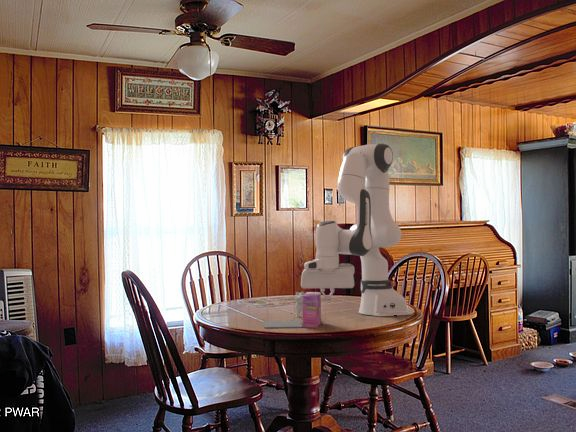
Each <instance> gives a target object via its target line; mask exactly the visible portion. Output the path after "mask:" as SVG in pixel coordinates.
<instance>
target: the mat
mask: <svg viewBox="0 0 576 432" xmlns="http://www.w3.org/2000/svg"><path fill="white" fill-rule="evenodd" d="M298 328H299V329H301V328H303V327H302V321H301V320H265V321H264V329H298Z"/></svg>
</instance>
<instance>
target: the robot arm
mask: <svg viewBox="0 0 576 432" xmlns="http://www.w3.org/2000/svg"><path fill="white" fill-rule="evenodd" d="M341 160H342V161H341V162H342V163H341V166H340V169H339V173H338V178H337V185H336V189H337V192H338V194H339V196H341V198H343V199H344V200H345V201H348V202H350V203H352V204H354V205H355V207H356V223H354V224H353V225H352V226H350V228H349V229H345V228H344V229H343V228H342V227H340V226H339V225H338V222H337V221H335V220H326V221H325V220H324V221H321V222H319V223H317V225H316V230H315V249H316V251H315V259H312V260H309V261H306V262H304V264H303V267H304V269H303V270H302V272H301V276H300V287H301V288H302V289H320V292H321V295H323V301H332V300H333V299H332V296H333V294H334V293H335V289H353V288H354V287H355V277H354V275H355V272H356V271H355V266H354V265H353V264H351V263H340V256H339V254H340V255H349V256H350V255H352V256H359V257H360V261H361V280H360V292H361V298H360V305H359V309H358V313H359V314H361V315H367V316H368V315H369V316H375V317H393V316H394V315H397V316H411V315H413V313H414V312H413V310H412V309H410V308H408V305H407V303H408V302H407V299H406V298H405V297H404V296H403V295H401V294H400V293H399V292H398V291H396V290H395V289H394V288H393V287H395V286H396V281H394V280H390V279H389V263H388V262H389V261H388V260H387V259H386V258H385V257H384V256H383V255H382V253H381V251H380V248H391V247H394V246H397V245H398V244H399V243H400V241H401V239H402V230H401V227H400V226H399V225H398V224H397V223H396V222H395V219H393V217H392V214H391V211H390V177H389V169H390V167H391V165H392V163H393V161H394V153H393V149H392V148H391V146H390V145H388V144H385V143H376V144H375V143H373V144H370V143H368V144H365V145H364V144H363V145H358V146H352V147H351V146H350V147H348V148H347V149H345V150H344V152H343V154H342V158H341ZM326 289H330V293H329V294H326V293H325V291H326ZM394 317H395V316H394Z"/></svg>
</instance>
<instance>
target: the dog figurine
mask: <svg viewBox="0 0 576 432" xmlns="http://www.w3.org/2000/svg"><path fill="white" fill-rule="evenodd" d="M305 293H306V292H305V291H301V292H299V291H297V292H295V300H294V301H295V308H296V315H295V317H296V318H299V317H300V315H301V316H302V305H303V304H302V303H303V302H302V299H303V295H304V294H305Z"/></svg>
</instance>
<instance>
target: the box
mask: <svg viewBox="0 0 576 432" xmlns="http://www.w3.org/2000/svg"><path fill="white" fill-rule="evenodd" d="M304 293H305V294H304V295H303V299H302V302H303V303H302V304H303V305H302V315H301V318H302V321H301V324H302V328H311V329H313V328H315V329H317V328H318V327H319V325H320V324H321V322H322V292H321V291H319V292H318V291H307V292H304Z"/></svg>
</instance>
